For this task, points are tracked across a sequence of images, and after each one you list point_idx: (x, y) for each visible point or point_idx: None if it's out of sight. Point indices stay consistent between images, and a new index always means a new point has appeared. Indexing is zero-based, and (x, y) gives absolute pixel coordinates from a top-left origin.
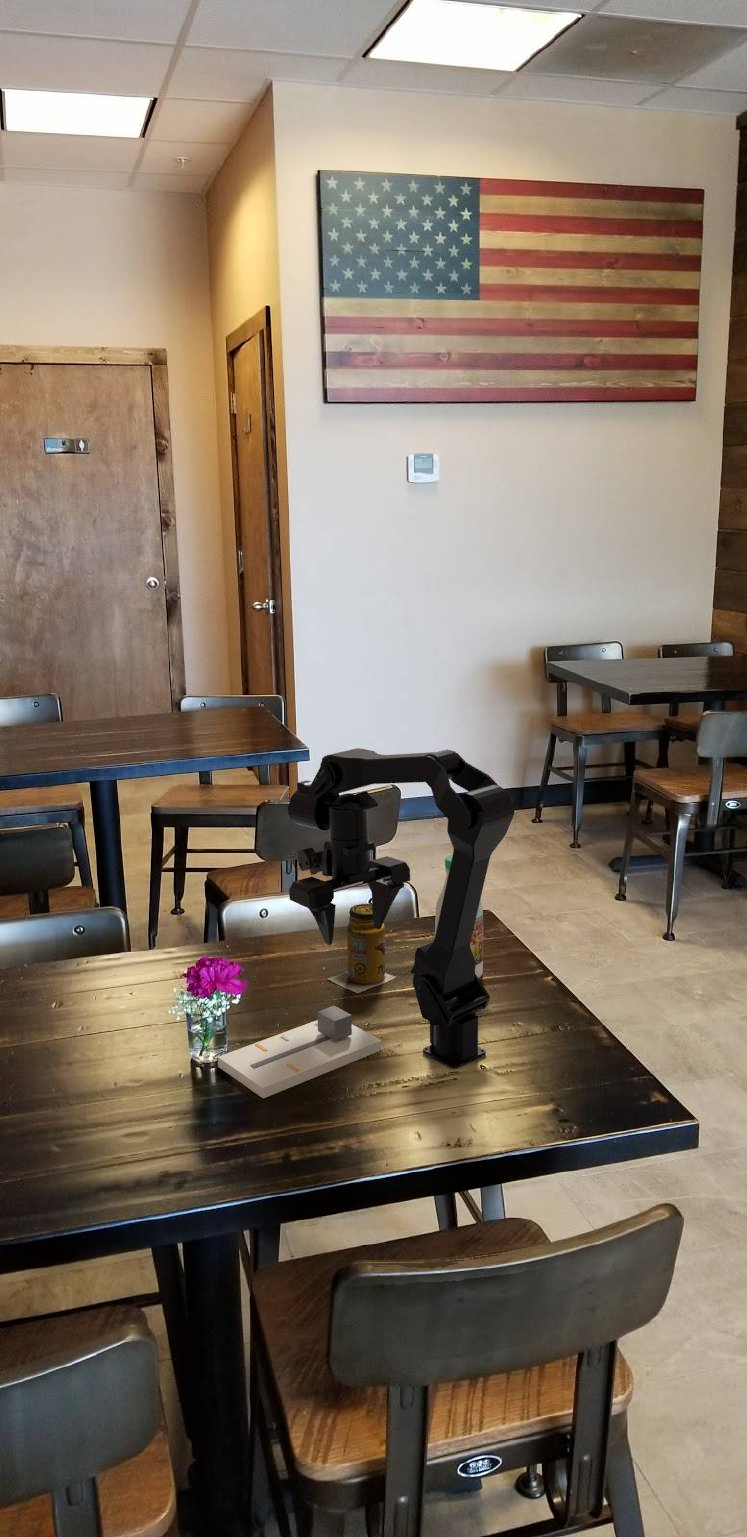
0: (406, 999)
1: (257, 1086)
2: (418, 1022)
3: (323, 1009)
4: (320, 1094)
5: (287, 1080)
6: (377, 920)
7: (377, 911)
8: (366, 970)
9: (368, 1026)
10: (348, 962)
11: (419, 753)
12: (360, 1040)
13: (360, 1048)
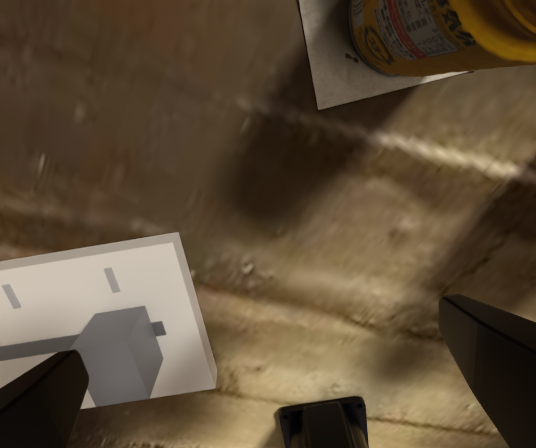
0: (402, 207)
1: None
2: (348, 314)
3: (89, 346)
4: None
5: None
6: (473, 366)
7: (532, 419)
8: (390, 65)
9: (245, 280)
10: None
11: None
12: (176, 371)
13: (161, 395)
